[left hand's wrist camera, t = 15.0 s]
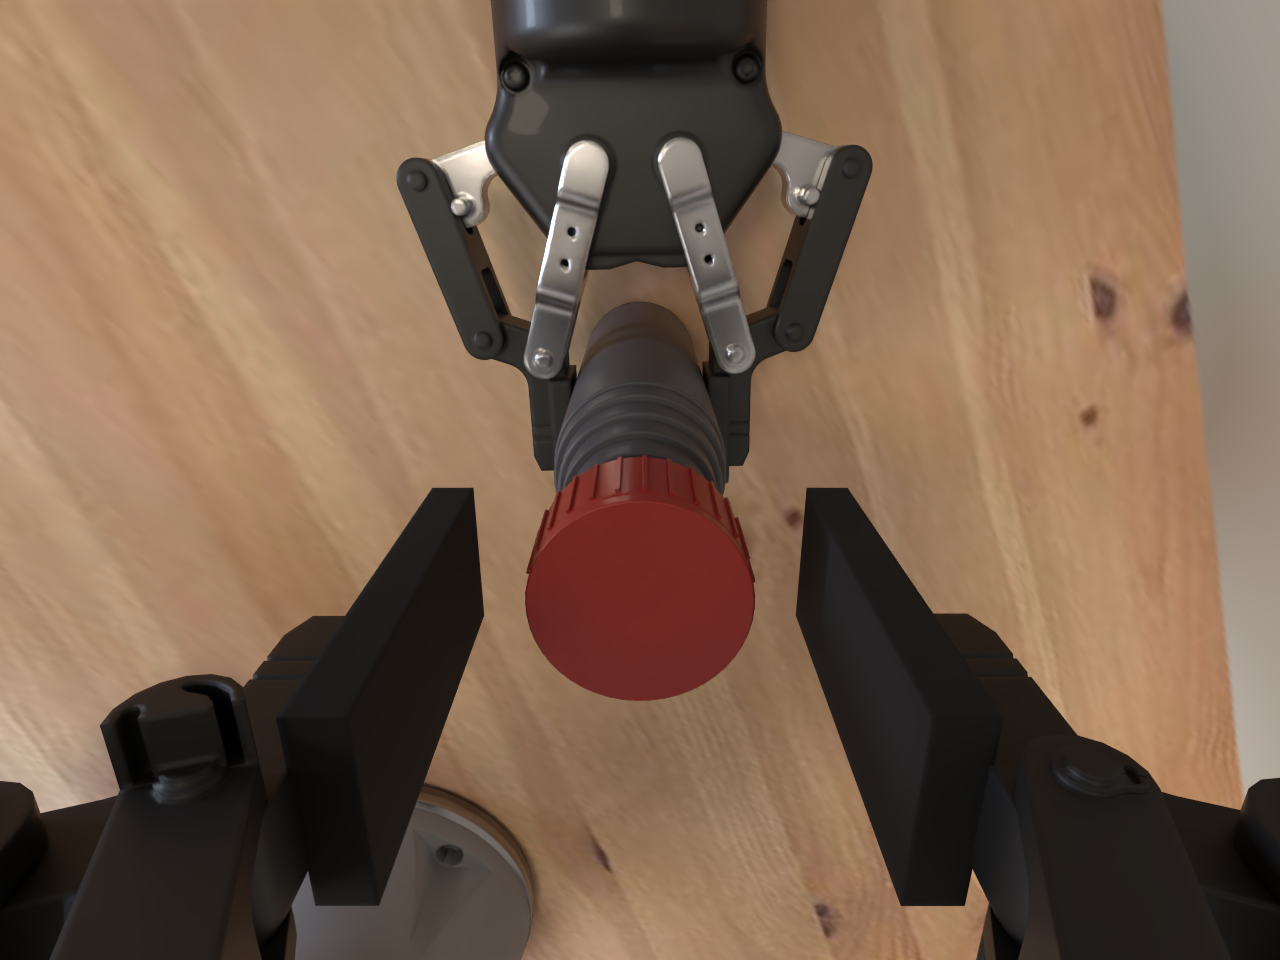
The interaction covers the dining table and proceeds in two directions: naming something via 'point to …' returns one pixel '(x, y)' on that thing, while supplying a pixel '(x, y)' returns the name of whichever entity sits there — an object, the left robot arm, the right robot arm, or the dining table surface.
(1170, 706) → the dining table surface
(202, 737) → the left robot arm
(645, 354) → the bottle
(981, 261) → the dining table surface
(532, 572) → the cap
